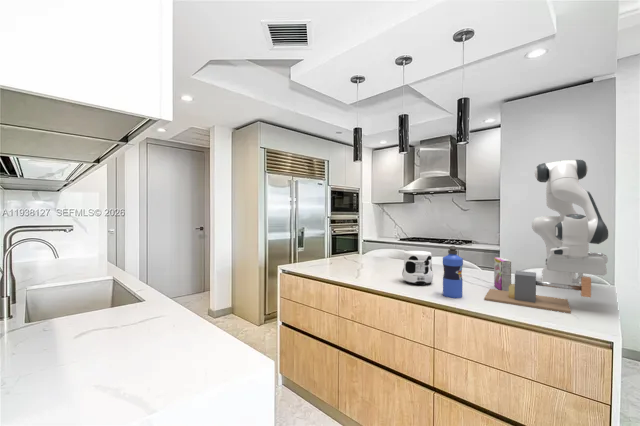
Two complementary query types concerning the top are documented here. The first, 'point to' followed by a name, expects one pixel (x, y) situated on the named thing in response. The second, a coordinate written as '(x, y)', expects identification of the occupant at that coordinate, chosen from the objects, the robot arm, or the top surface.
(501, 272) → the candy bar box
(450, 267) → the water bottle
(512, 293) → the spacer
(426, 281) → the milk container
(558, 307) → the bearing stand
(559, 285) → the shaft
